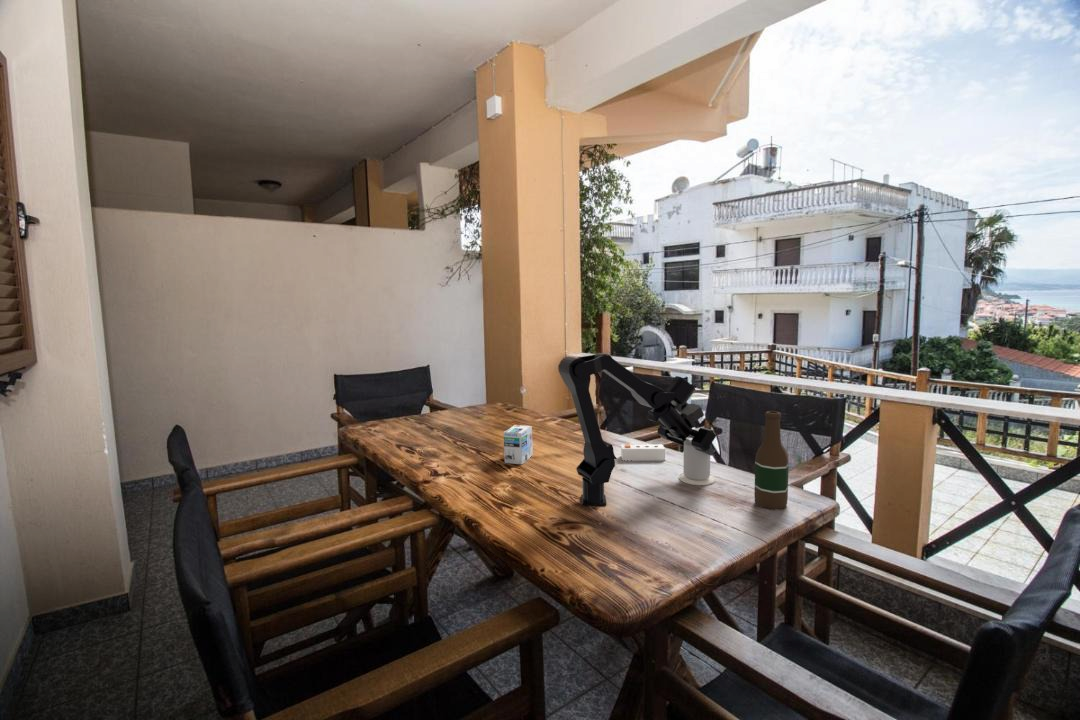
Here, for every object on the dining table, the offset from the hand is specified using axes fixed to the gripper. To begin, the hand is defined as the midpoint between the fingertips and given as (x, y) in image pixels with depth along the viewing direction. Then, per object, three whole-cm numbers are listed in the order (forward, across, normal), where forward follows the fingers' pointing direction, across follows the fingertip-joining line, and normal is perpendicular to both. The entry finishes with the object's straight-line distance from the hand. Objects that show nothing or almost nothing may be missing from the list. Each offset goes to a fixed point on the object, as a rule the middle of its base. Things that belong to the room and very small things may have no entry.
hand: (700, 450), depth 142 cm
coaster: (+5, 0, +7) cm, 9 cm away
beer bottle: (+8, -23, +5) cm, 24 cm away
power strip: (+4, +24, +8) cm, 25 cm away
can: (+5, 0, +7) cm, 8 cm away
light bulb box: (-21, +45, +34) cm, 60 cm away
